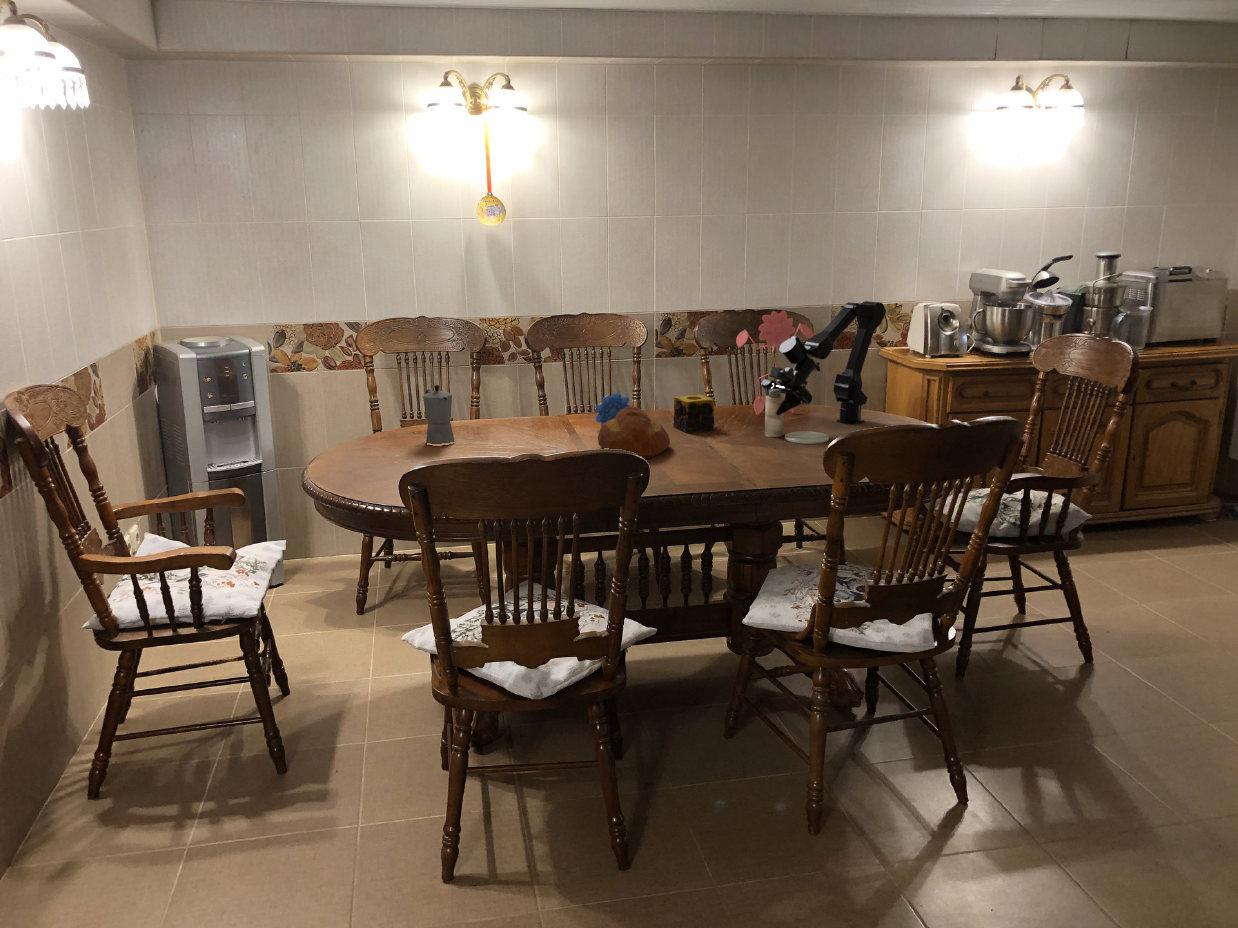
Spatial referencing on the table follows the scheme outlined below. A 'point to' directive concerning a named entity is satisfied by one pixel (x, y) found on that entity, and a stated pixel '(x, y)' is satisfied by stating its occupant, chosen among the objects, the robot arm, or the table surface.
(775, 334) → the figurine
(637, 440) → the bread
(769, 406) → the pepper mill
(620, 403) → the grapes
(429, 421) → the coffeepot
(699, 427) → the black and yellow cube
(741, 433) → the table surface
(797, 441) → the pale green coaster
